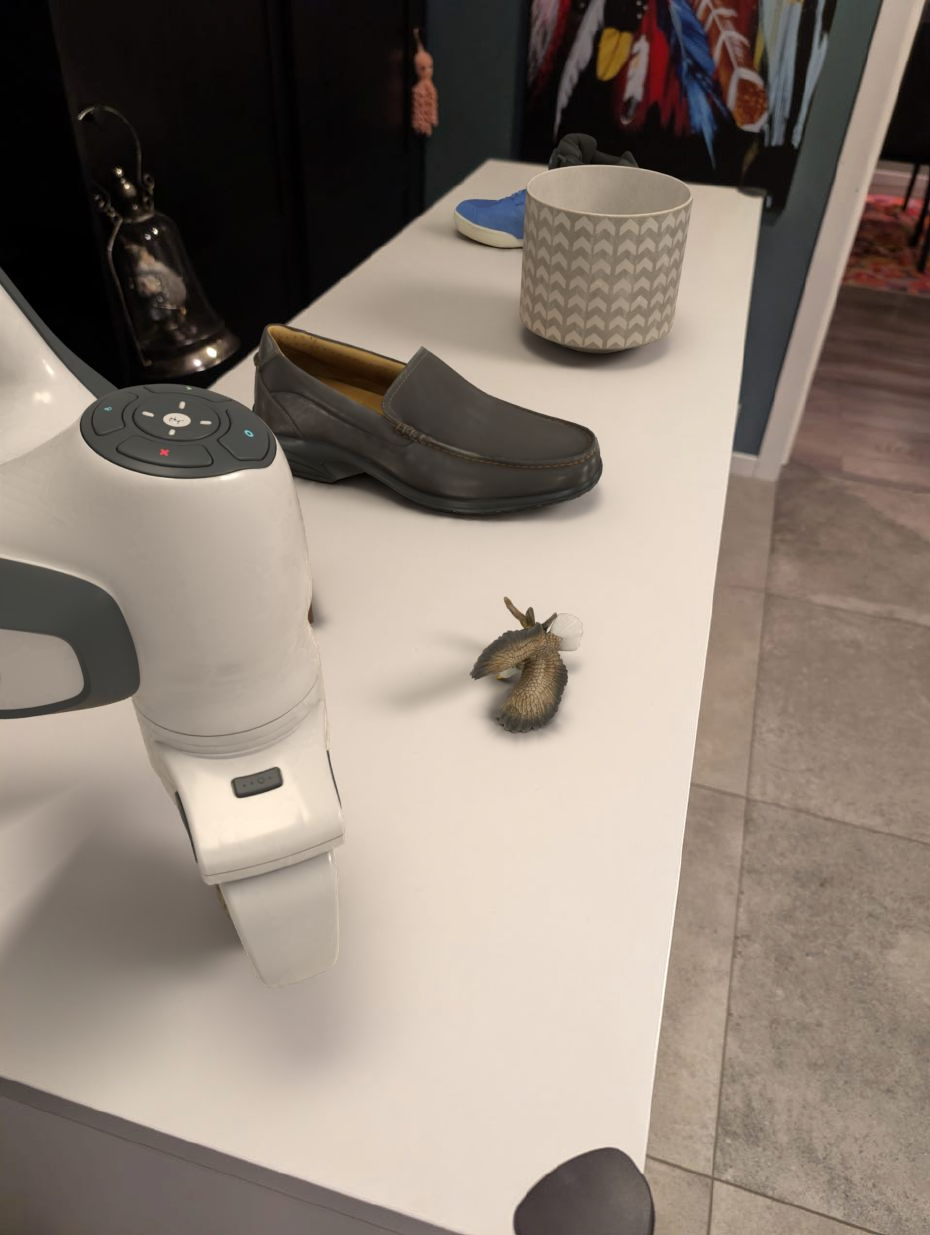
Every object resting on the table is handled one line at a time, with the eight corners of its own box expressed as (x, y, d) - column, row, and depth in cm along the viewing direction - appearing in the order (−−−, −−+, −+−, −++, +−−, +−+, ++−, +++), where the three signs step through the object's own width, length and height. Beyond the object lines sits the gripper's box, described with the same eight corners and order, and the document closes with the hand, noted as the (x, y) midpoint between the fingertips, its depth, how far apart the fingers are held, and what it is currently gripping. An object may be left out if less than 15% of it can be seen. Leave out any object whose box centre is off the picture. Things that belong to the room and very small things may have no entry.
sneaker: (466, 220, 155) (467, 109, 145) (645, 243, 148) (660, 128, 138) (440, 245, 146) (439, 129, 136) (629, 271, 139) (644, 150, 129)
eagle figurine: (474, 628, 76) (444, 689, 69) (529, 569, 73) (504, 626, 65) (547, 686, 77) (526, 752, 70) (605, 631, 74) (590, 694, 66)
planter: (660, 382, 112) (685, 223, 101) (502, 361, 116) (509, 205, 104) (676, 319, 126) (700, 172, 115) (535, 302, 130) (544, 159, 118)
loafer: (588, 540, 88) (603, 412, 80) (226, 483, 94) (204, 359, 86) (607, 467, 98) (623, 347, 89) (278, 421, 104) (263, 304, 96)
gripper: (140, 599, 53) (184, 764, 62) (205, 898, 39) (250, 1058, 48) (254, 574, 55) (280, 739, 64) (356, 852, 40) (372, 1014, 49)
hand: (268, 877), depth 56 cm, fingers closed on decorative egg, 6 cm apart
